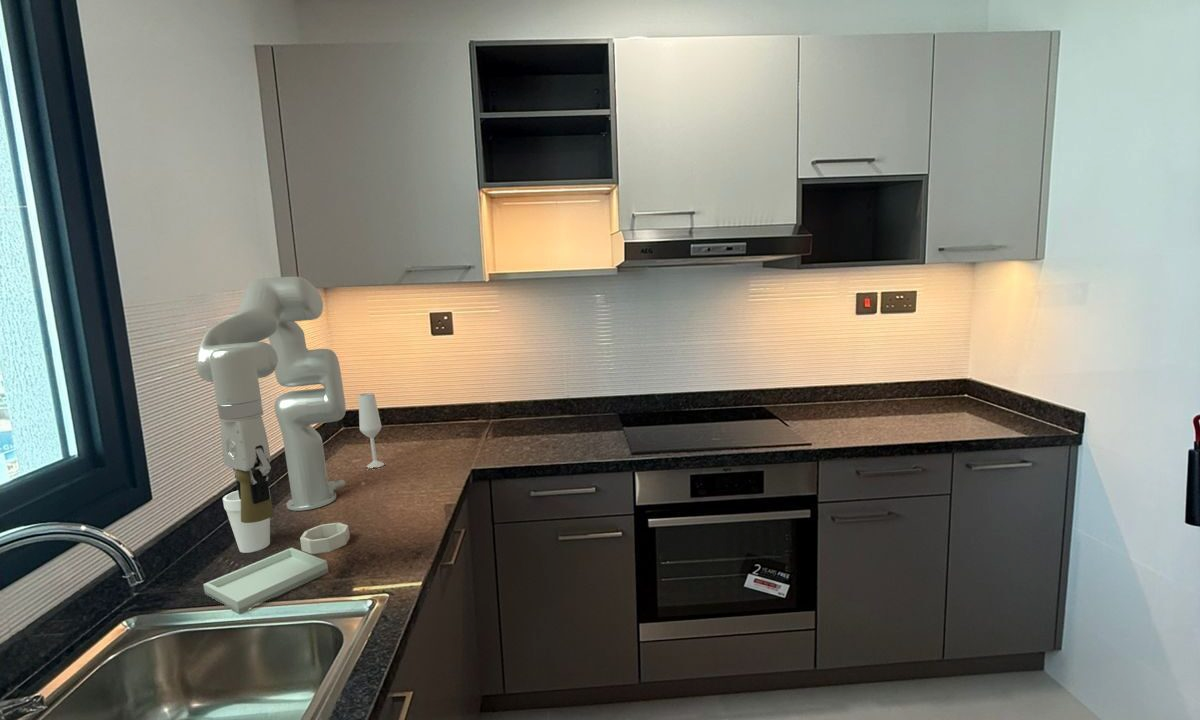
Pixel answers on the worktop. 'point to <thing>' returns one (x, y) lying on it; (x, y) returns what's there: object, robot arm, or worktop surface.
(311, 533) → the collar
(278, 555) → the tray
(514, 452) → the worktop surface
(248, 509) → the cork
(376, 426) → the champagne flute
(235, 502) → the foam cup
